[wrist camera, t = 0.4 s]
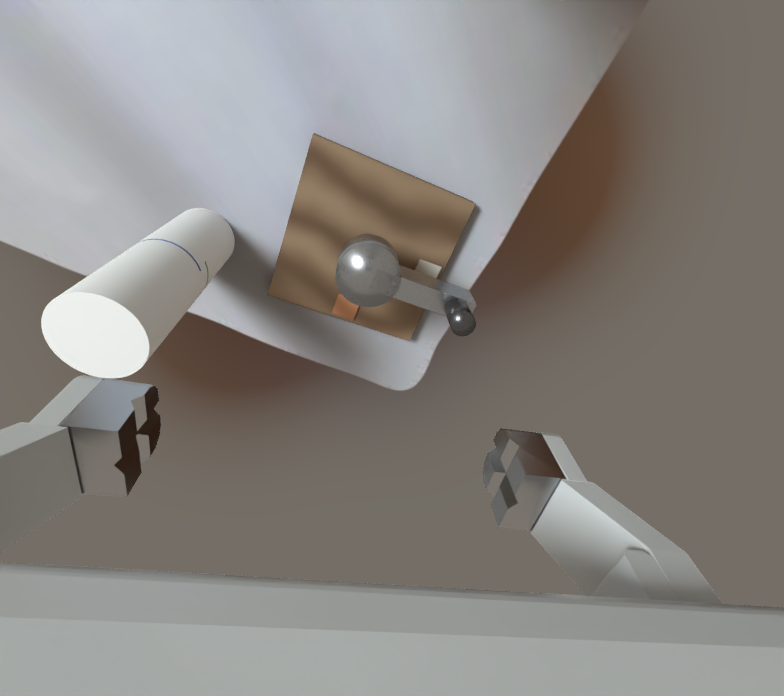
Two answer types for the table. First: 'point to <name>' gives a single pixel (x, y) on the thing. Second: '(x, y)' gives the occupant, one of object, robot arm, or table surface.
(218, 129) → the table surface
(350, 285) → the crank handle
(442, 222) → the post base
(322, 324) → the table surface
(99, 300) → the cylindrical container
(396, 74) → the table surface
